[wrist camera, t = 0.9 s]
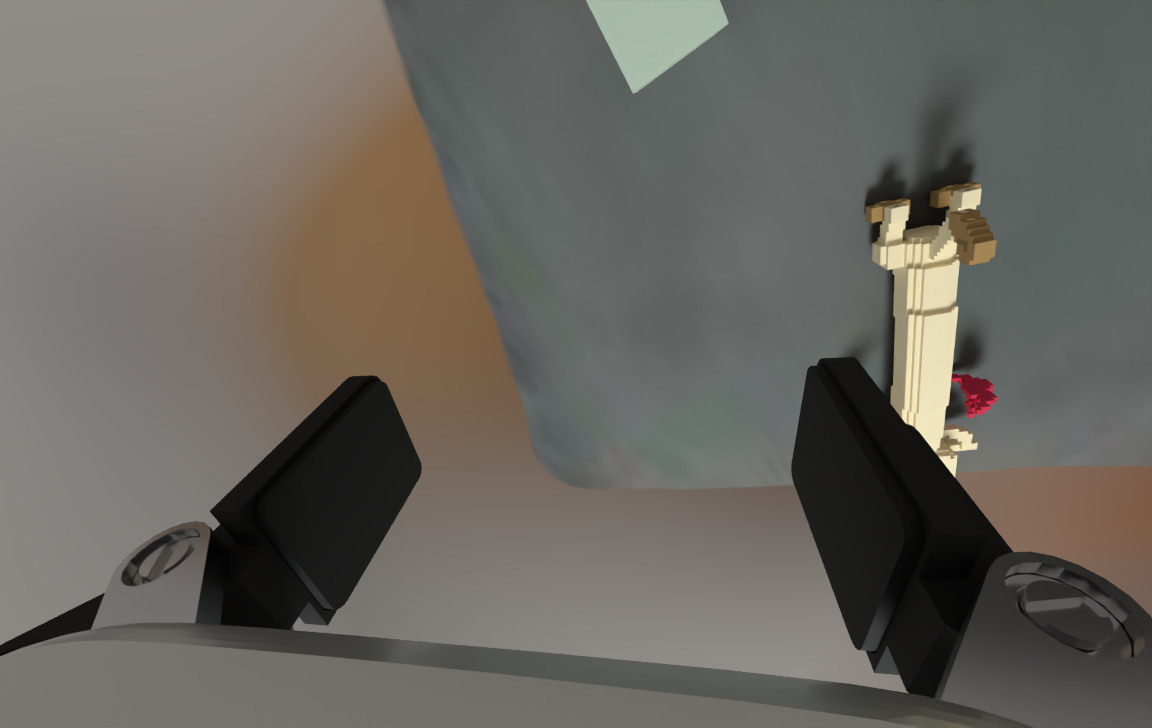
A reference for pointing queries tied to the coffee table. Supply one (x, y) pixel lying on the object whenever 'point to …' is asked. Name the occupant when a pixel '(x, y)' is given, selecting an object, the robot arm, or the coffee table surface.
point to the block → (655, 33)
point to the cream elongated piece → (932, 311)
